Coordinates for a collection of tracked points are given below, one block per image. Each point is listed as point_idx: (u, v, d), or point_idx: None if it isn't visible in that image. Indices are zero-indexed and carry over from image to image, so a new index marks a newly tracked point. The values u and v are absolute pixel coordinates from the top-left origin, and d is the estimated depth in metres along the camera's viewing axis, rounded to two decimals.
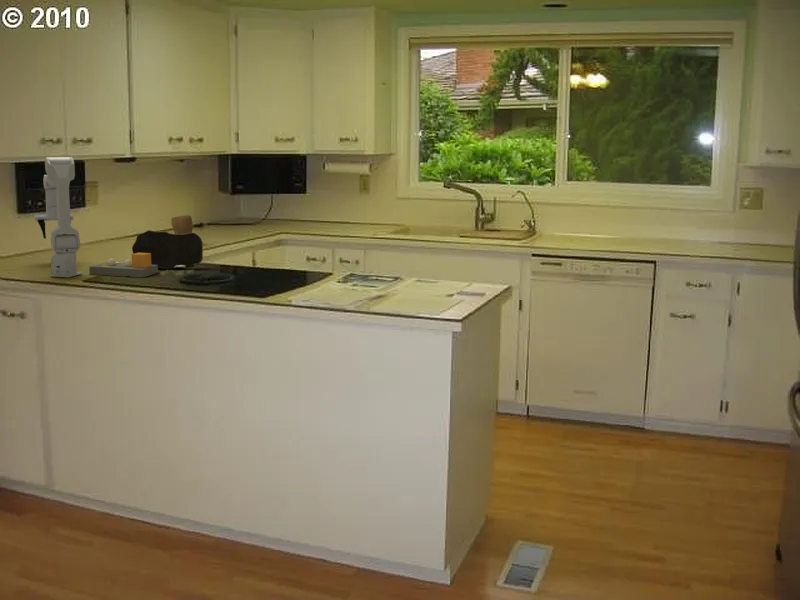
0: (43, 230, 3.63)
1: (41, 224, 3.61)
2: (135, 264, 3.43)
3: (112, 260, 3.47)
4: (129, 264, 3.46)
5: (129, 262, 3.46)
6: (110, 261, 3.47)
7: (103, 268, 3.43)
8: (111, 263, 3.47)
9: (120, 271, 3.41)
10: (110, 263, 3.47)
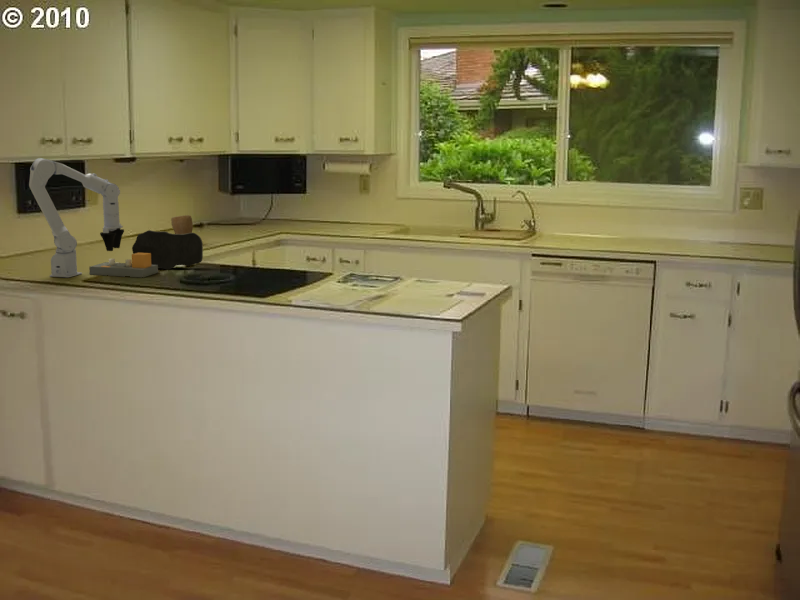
0: None
1: None
2: (135, 264, 3.43)
3: (112, 260, 3.47)
4: (129, 264, 3.46)
5: (129, 262, 3.46)
6: (110, 261, 3.47)
7: (103, 268, 3.43)
8: (111, 263, 3.47)
9: (120, 271, 3.41)
10: (110, 263, 3.47)
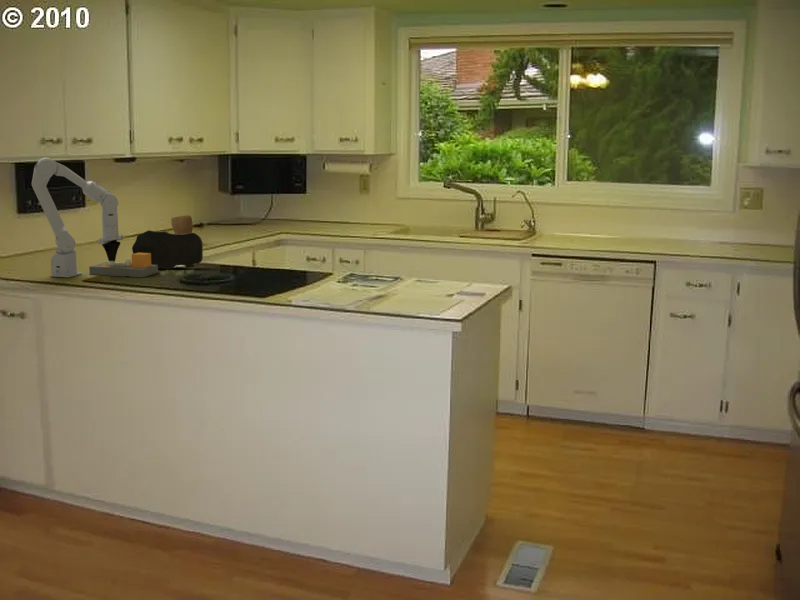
0: None
1: None
2: (135, 264, 3.43)
3: (112, 262, 3.47)
4: (129, 264, 3.46)
5: (129, 262, 3.46)
6: (110, 263, 3.47)
7: (103, 268, 3.43)
8: (111, 265, 3.47)
9: (120, 271, 3.41)
10: (110, 265, 3.47)
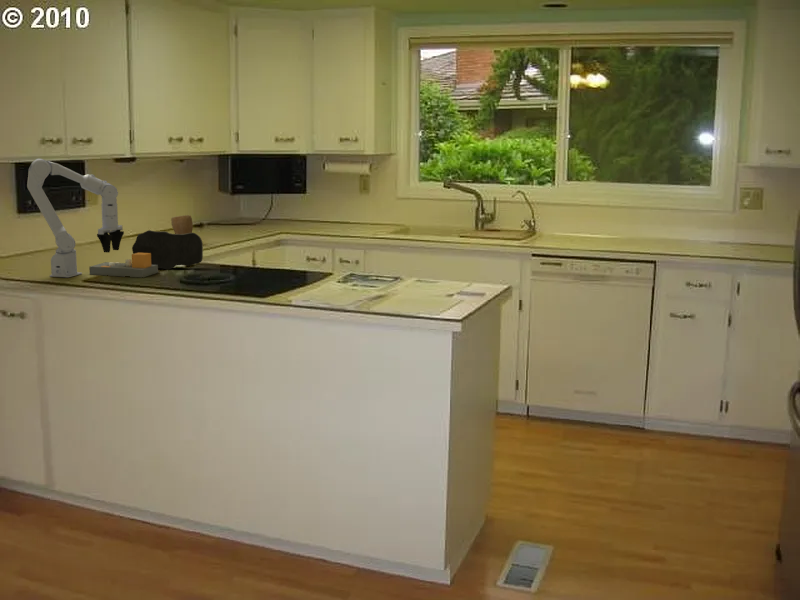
0: None
1: None
2: (135, 264, 3.43)
3: (112, 264, 3.48)
4: (129, 264, 3.46)
5: (129, 262, 3.46)
6: (110, 265, 3.48)
7: (103, 268, 3.43)
8: None
9: (120, 271, 3.41)
10: None
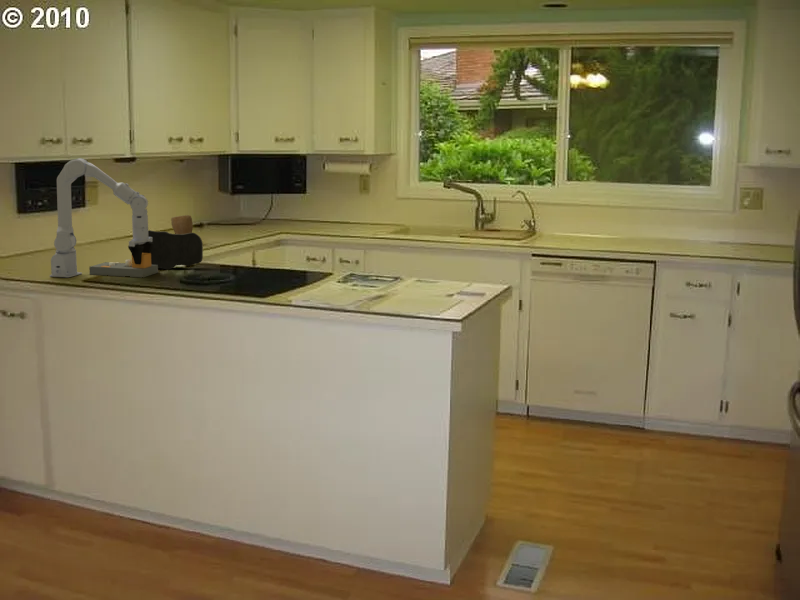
0: None
1: None
2: (135, 264, 3.43)
3: (112, 264, 3.48)
4: (129, 264, 3.46)
5: (129, 262, 3.46)
6: (110, 265, 3.48)
7: (103, 268, 3.43)
8: None
9: (120, 271, 3.41)
10: None
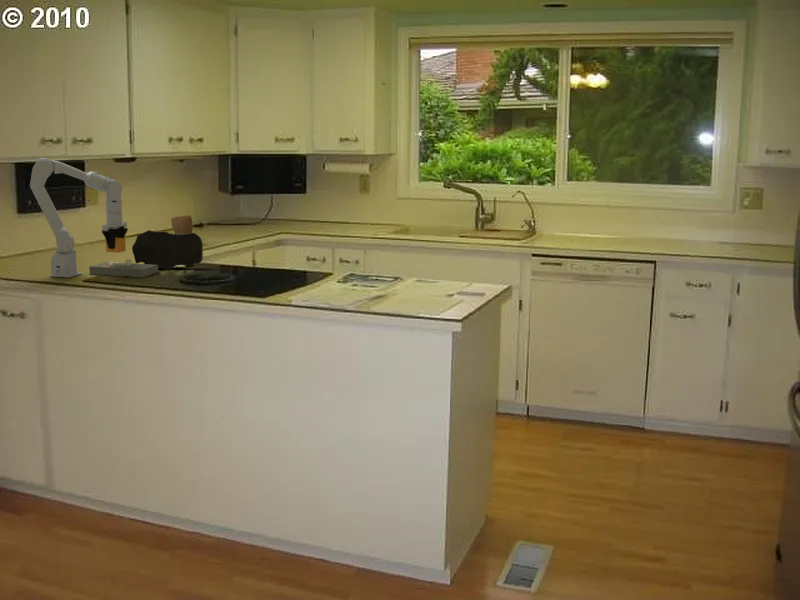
0: None
1: None
2: None
3: (112, 264, 3.48)
4: (129, 264, 3.46)
5: (129, 262, 3.46)
6: (110, 265, 3.48)
7: (103, 268, 3.43)
8: None
9: (120, 271, 3.41)
10: None
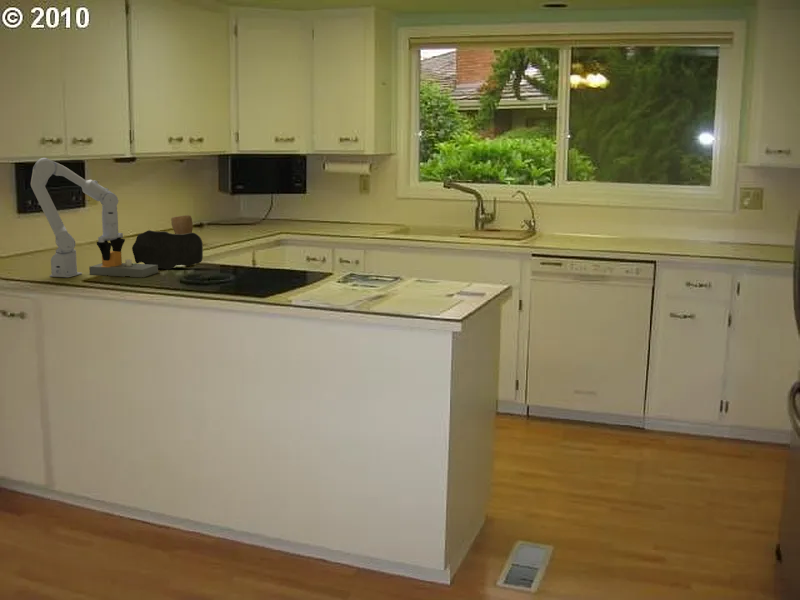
0: None
1: None
2: (105, 262, 3.46)
3: None
4: (129, 264, 3.46)
5: (129, 262, 3.46)
6: None
7: (103, 268, 3.43)
8: None
9: (120, 271, 3.41)
10: None
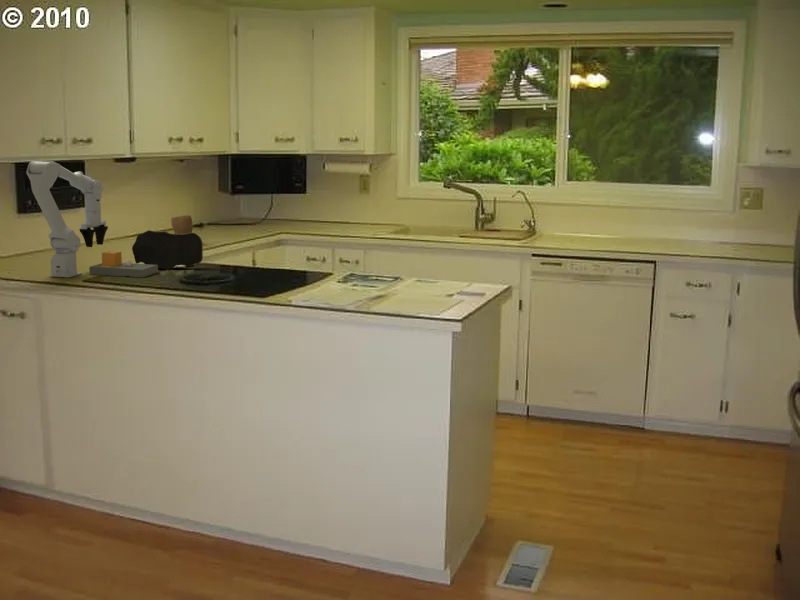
0: None
1: None
2: (105, 262, 3.46)
3: None
4: (129, 264, 3.46)
5: (129, 262, 3.46)
6: None
7: (103, 268, 3.43)
8: None
9: (120, 271, 3.41)
10: None
